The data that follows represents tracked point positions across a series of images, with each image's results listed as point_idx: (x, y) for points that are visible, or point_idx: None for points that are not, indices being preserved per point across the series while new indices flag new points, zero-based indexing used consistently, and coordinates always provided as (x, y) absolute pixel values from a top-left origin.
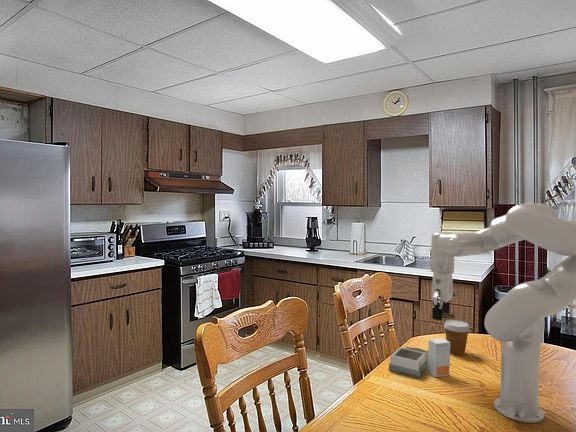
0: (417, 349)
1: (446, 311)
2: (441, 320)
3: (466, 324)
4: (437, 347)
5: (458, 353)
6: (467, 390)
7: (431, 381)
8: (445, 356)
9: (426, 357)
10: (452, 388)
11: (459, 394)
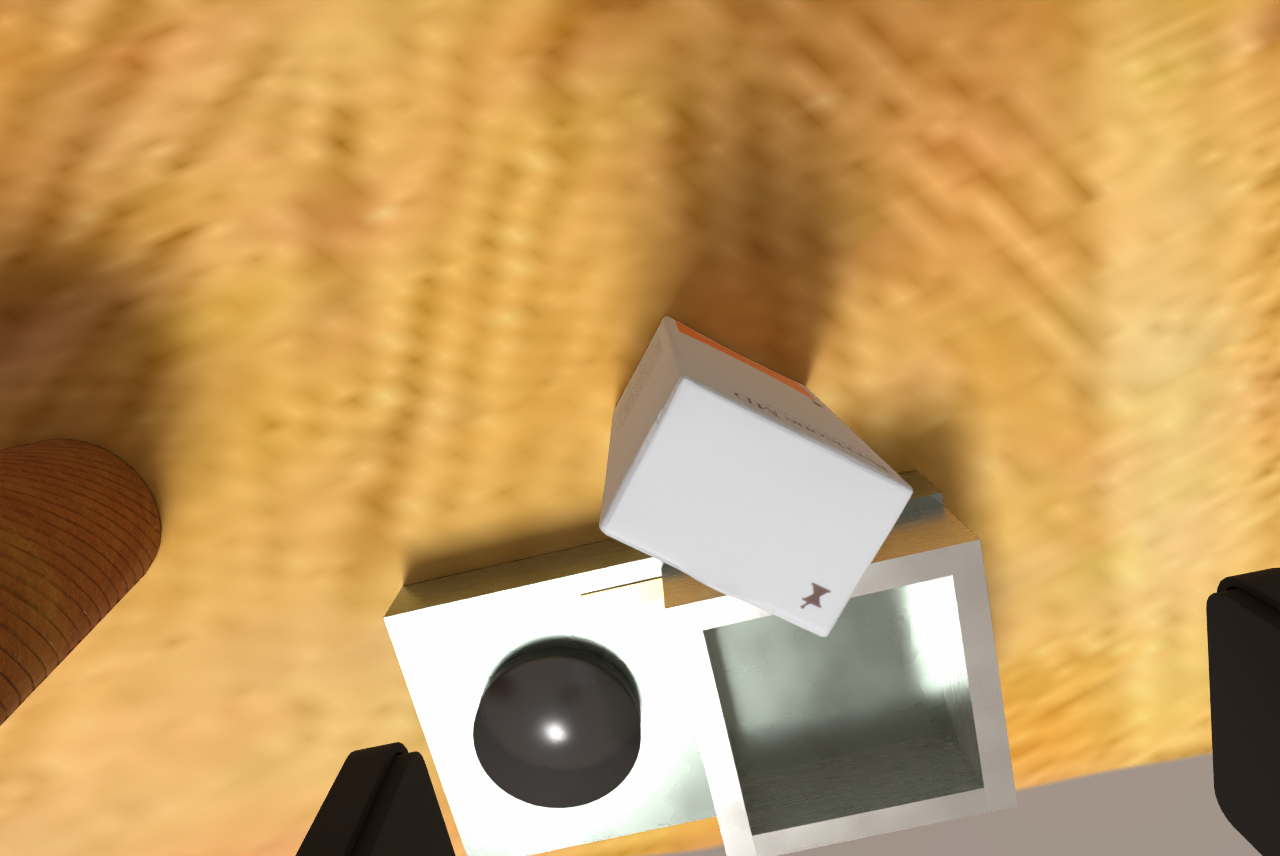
0: (515, 750)
1: (422, 838)
2: (1271, 573)
3: None
4: (879, 460)
5: (115, 475)
6: (844, 46)
7: (900, 372)
8: (738, 370)
9: (667, 585)
10: (904, 169)
11: (979, 65)
